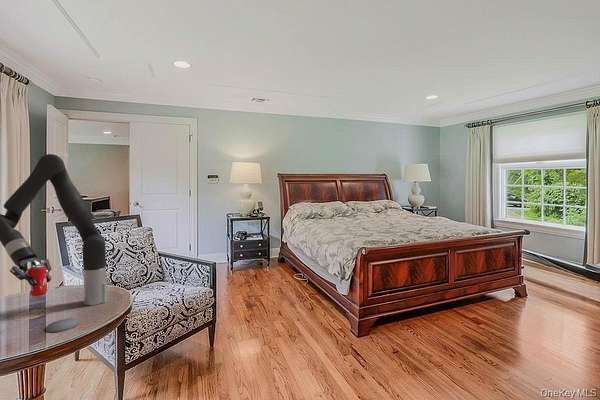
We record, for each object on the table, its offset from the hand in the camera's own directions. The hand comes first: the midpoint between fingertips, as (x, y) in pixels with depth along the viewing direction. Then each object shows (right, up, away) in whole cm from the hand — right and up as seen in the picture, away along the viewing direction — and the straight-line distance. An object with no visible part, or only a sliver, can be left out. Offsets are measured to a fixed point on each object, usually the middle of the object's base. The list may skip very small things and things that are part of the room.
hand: (42, 282), depth 128 cm
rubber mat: (+8, -18, 0) cm, 20 cm away
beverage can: (-2, -5, +1) cm, 6 cm away
